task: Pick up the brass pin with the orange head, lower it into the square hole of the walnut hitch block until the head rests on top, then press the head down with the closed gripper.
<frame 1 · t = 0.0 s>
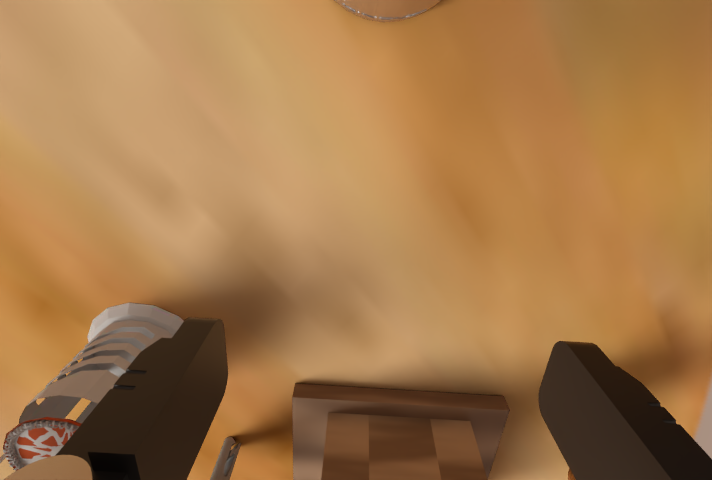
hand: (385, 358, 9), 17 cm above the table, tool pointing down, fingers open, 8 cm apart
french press: (141, 354, 32), on the table
mechanical component: (233, 440, 36), on the table
hitch block: (391, 448, 36), on the table
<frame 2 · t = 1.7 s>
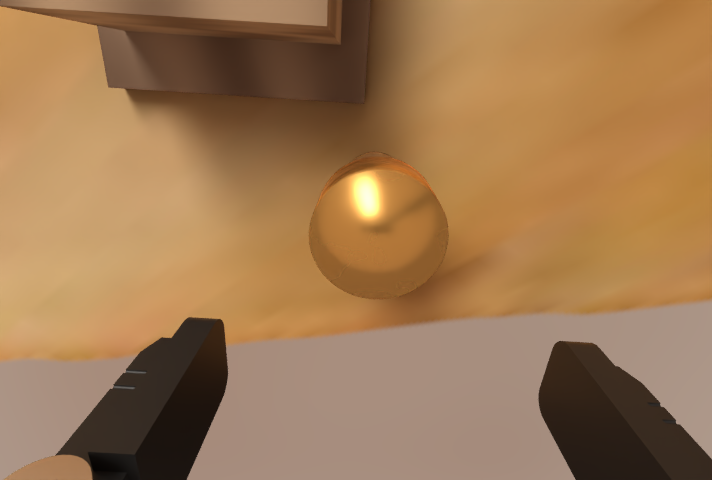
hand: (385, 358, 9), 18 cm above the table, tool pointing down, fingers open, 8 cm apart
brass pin: (374, 181, 26), on the table
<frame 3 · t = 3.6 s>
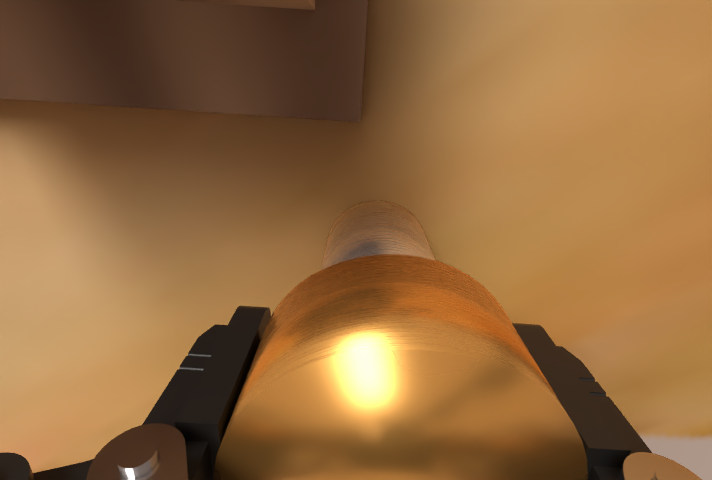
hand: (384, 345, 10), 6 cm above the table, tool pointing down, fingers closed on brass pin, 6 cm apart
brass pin: (376, 248, 15), on the table, touching gripper
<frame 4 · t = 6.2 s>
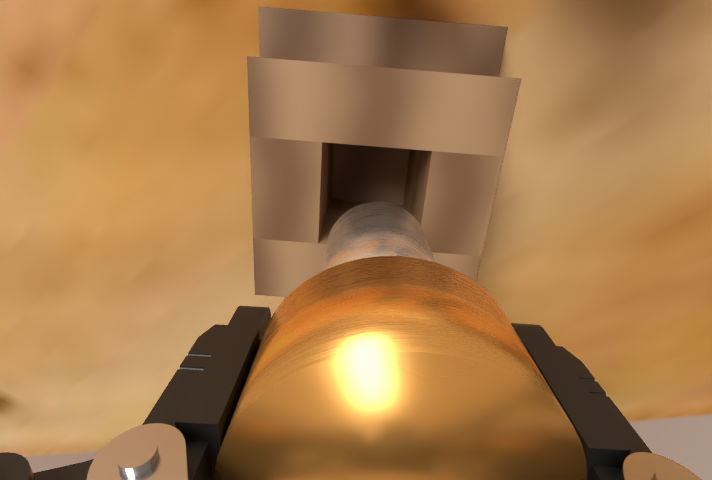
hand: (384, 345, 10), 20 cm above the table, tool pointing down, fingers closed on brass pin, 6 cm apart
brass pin: (376, 248, 15), point 14 cm above the table, touching gripper
hitch block: (370, 161, 28), on the table
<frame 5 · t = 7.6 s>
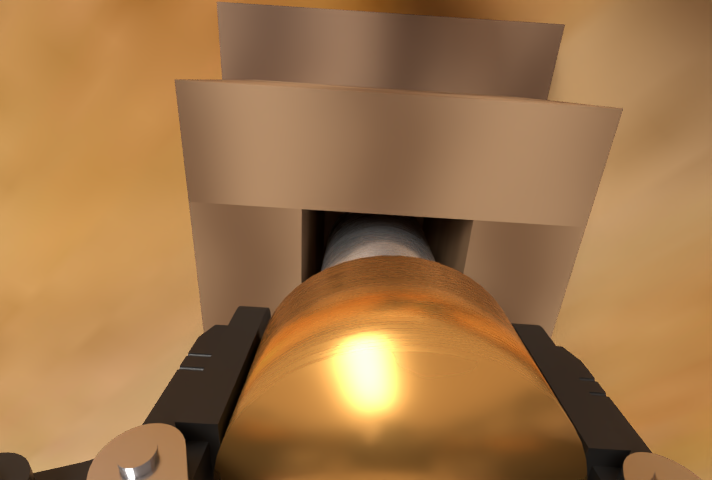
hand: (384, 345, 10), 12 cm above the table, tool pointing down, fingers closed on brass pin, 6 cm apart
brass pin: (376, 248, 15), point 6 cm above the table, touching gripper
hitch block: (373, 203, 21), on the table
when the fingers open (11 cm above the table, at t = 8.8 s): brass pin drops 2 cm, resting on hitch block.
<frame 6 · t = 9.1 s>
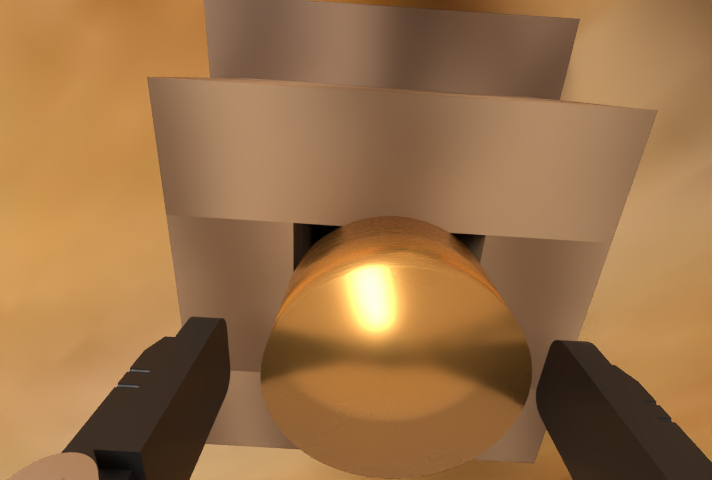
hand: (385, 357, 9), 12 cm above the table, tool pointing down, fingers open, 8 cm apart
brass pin: (378, 227, 18), point 2 cm above the table, touching hitch block
hitch block: (373, 209, 20), on the table
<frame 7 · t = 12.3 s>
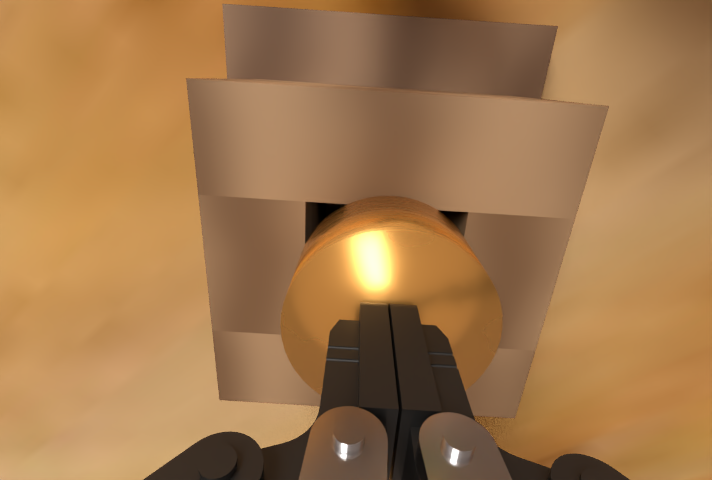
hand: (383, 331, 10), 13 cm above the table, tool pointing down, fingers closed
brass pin: (378, 213, 20), point 2 cm above the table, touching gripper, hitch block
hitch block: (373, 199, 22), on the table
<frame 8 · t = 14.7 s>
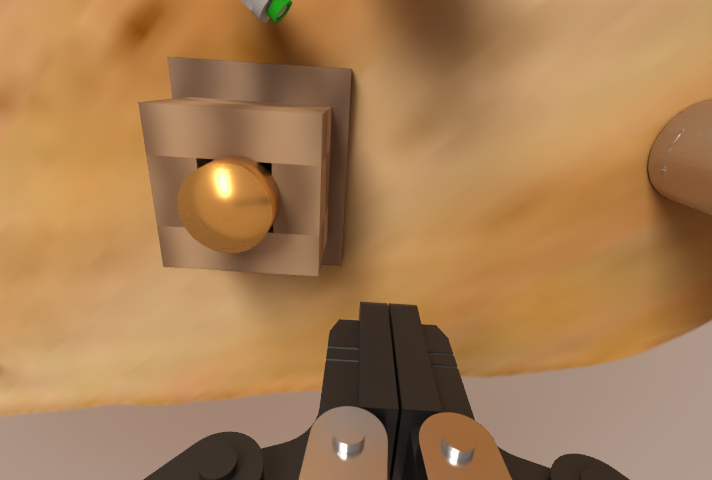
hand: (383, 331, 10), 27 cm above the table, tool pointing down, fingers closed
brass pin: (262, 174, 34), point 2 cm above the table, touching hitch block
hitch block: (267, 168, 36), on the table
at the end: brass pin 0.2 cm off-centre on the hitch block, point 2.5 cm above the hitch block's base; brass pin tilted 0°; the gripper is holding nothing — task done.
